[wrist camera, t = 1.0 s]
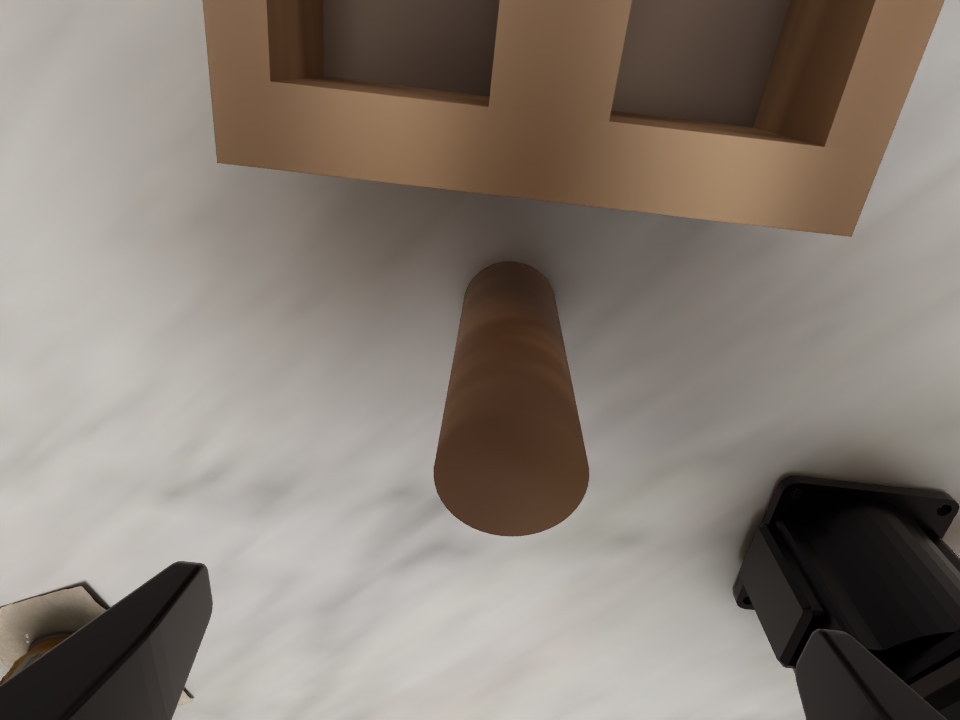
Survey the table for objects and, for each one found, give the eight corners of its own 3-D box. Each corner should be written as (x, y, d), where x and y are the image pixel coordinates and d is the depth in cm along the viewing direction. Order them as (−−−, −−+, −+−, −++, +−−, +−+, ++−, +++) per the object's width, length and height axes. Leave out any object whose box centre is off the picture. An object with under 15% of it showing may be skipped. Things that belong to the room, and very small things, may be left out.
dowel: (562, 267, 19) (603, 420, 11) (547, 352, 20) (574, 543, 12) (468, 256, 19) (439, 402, 11) (459, 342, 20) (428, 527, 12)
